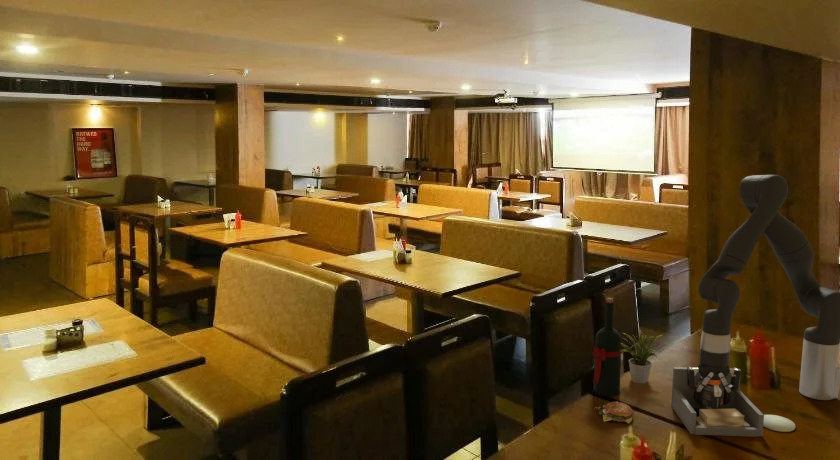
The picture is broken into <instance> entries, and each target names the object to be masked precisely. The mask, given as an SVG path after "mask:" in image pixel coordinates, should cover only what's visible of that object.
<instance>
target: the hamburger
mask: <svg viewBox="0 0 840 460" xmlns="http://www.w3.org/2000/svg"><path fill="white" fill-rule="evenodd" d="M595 408H596V409H595ZM602 408H603V409H602ZM602 408H601V406H598V407H597V406H596V407H594V410H597V409H598V410H600V411H598V414H599V415H601V416H602V421H603V422H608V421H612V420H613V421H612V422H615V421H617V422H616V423H627V424H630V423H631V422H632V420H633V415H634V409H632V407H631V406H629V405H628V404H627V403H623V402H619V401H612V402H608V403H606V404H604V405H603V406H602Z"/></svg>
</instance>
